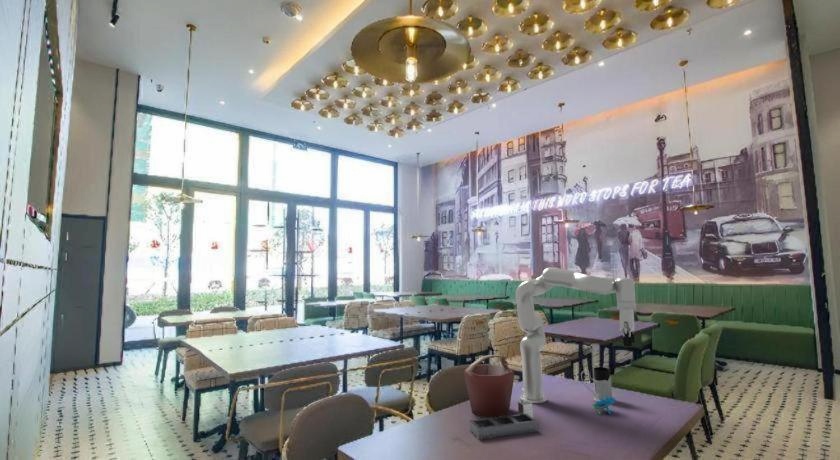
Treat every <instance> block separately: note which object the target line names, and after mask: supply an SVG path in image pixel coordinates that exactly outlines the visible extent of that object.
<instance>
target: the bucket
mask: <svg viewBox="0 0 840 460" xmlns="http://www.w3.org/2000/svg"><path fill="white" fill-rule="evenodd" d="M490 358H499V361H500V365H499V364H492V363H491V364H490V363H484V364H483V363H482V362H484V361H485V360H487V359H490ZM481 363H482V364H481ZM508 363H509V362H508V361H507V358H506V356H505V355H498V354H488V355H482V356H480V357H478V358H477V359H476V360H475V361H473V363H471V364H470V365H469V366H468V367H466V369H465V370H463V371H464V372H463V373H464V382H465V385H466V390H467V395H468V399H469V403H470V408H471V412H472V413H474V414H476V415H478V414H479V415H478V416H480V415H481V416H480V417H482V416H485V417H486V418H494V417H500V416H501V417H502V415H503V416H506V415H507V414H509V413H510V408H511V407H510V406H511V400H512V395H513V387H514V381H515V380H514V379H515V372H514V370H513V369H511V368H510V367H509V365H508ZM485 417H484V418H485Z"/></svg>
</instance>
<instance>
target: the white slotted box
mask: <svg viewBox="0 0 840 460" xmlns="http://www.w3.org/2000/svg"><path fill="white" fill-rule="evenodd" d="M533 404H534V403H530V402H529V401H523V400H521V401H517V407H518V409H517V410H518V411H517V412H518V414H525V413H526V414H528V415H529V416H531V417H532V418H534V409H533Z"/></svg>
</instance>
